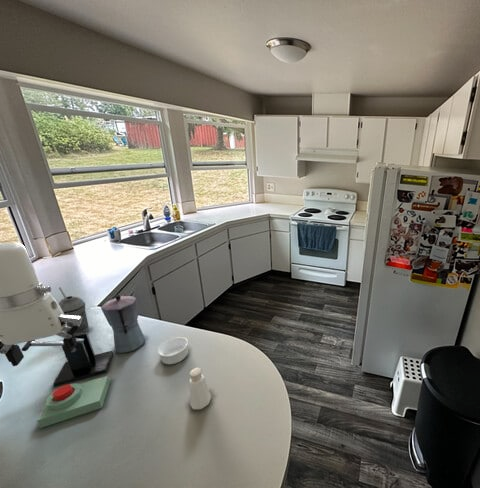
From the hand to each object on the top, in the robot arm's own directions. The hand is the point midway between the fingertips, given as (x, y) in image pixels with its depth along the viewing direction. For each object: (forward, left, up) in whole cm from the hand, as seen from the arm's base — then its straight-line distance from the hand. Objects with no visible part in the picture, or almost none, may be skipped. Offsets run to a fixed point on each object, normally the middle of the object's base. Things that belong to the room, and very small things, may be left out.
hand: (46, 355), depth 63 cm
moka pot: (+11, +20, -18) cm, 29 cm away
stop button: (0, -1, -13) cm, 13 cm away
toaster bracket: (0, +13, -17) cm, 22 cm away
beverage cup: (-7, +35, -18) cm, 40 cm away
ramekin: (+25, +7, -18) cm, 32 cm away
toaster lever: (-4, +13, -7) cm, 15 cm away
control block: (+2, -1, -17) cm, 17 cm away
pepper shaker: (+32, -15, -18) cm, 40 cm away
